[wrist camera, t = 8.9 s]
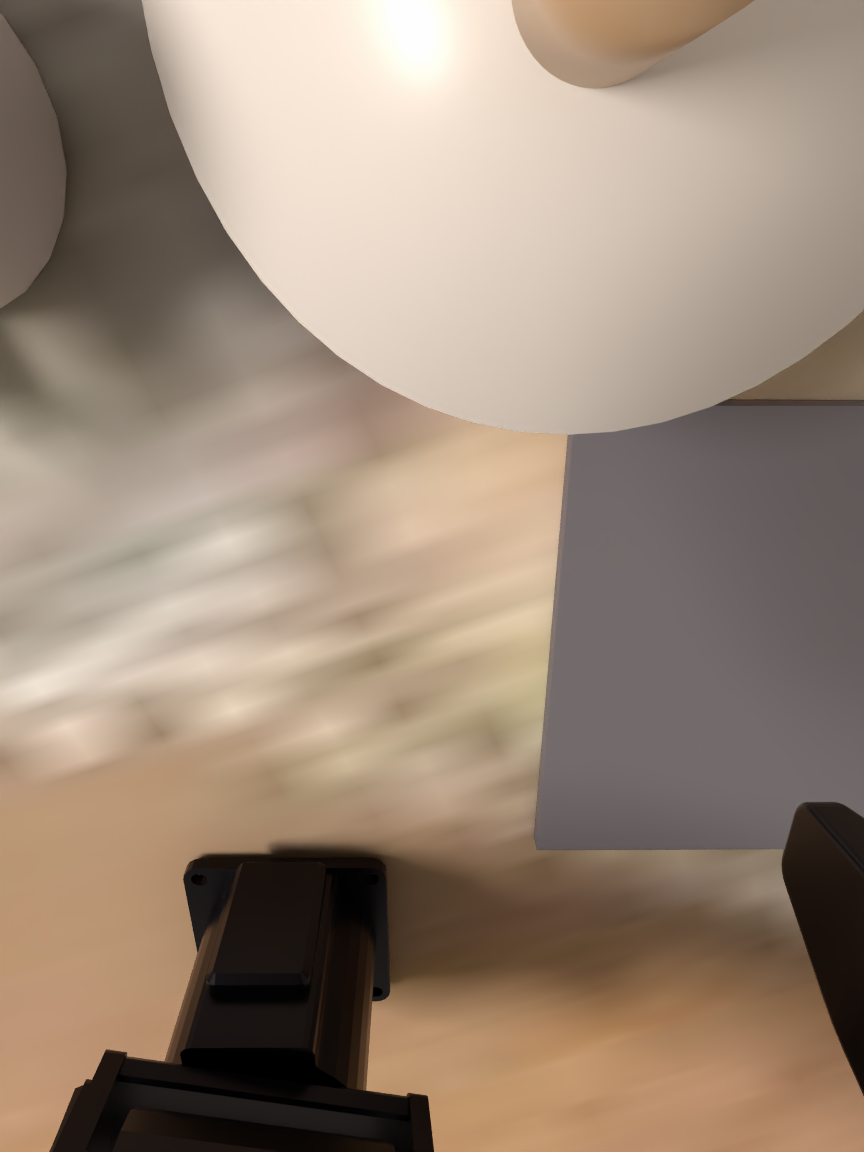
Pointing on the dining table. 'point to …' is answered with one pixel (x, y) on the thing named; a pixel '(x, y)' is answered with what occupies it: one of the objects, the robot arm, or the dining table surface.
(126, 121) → the dining table surface
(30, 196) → the cup
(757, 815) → the mat
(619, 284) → the lid
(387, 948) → the robot arm
